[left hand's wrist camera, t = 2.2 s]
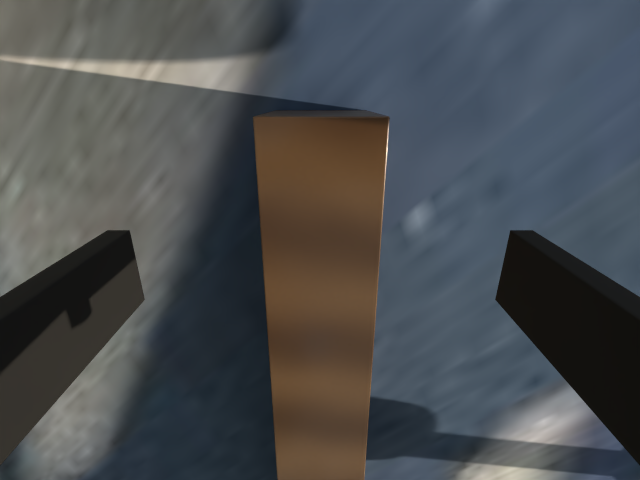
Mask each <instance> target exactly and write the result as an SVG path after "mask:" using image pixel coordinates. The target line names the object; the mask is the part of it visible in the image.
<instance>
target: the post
mask: <svg viewBox="0 0 640 480" xmlns="http://www.w3.org/2000/svg"><path fill="white" fill-rule="evenodd" d="M389 119H390V118H389V116H385V115H381V114H377V113H374V112H370V111H366V110H276V111H272V112H268V113H265V114H261V115H257V116H254V117H253V126H254V141H255V155H256V170H257V185H258V200H259V215H260V229H261V244H262V259H263V274H264V288H265V303H266V318H267V333H268V348H269V362H270V377H271V392H272V407H273V421H274V436H275V451H276V466H277V480H364V475H365V461H366V446H367V432H368V418H369V404H370V389H371V375H372V361H373V347H374V332H375V318H376V304H377V290H378V275H379V261H380V247H381V233H382V218H383V204H384V190H385V176H386V161H387V147H388V133H389Z"/></svg>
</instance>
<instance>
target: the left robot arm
mask: <svg viewBox="0 0 640 480" xmlns="http://www.w3.org/2000/svg"><path fill="white" fill-rule="evenodd" d="M144 300H145V299H144V295H143V290H142V285H141V281H140V276H139V271H138V267H137V262H136V258H135V253H134V248H133V244H132V239H131V235H130V230H107V231H106V232H104V233H103V234H101V235H99V236H98V237H96V238H95V239H93V240H91V241H90V242H88V243H86V244H85V245H83V246H82V247H80V248H78V249H77V250H75V251H74V252H72V253H70V254H69V255H67V256H66V257H64V258H62V259H61V260H59V261H58V262H56V263H54V264H53V265H51V266H49V267H48V268H46V269H45V270H43V271H41V272H40V273H38V274H37V275H35V276H33V277H32V278H30V279H29V280H27V281H25V282H24V283H22V284H21V285H19V286H17V287H16V288H14V289H13V290H11V291H9V292H8V293H6V294H4V295H3V296H1V297H0V465H1V464H2V463H3V462H4V460H5V459H6V458H7V457H8V456H9V455H10V453H11V452H12V451H13V450H14V449H15V448H16V447H17V445H18V444H19V443H20V442H21V441H22V440H23V439H24V437H25V436H26V435H27V434H28V433H29V432H30V431H31V429H32V428H33V427H34V426H35V425H36V424H37V422H38V421H39V420H40V419H41V418H42V417H43V416H44V414H45V413H46V412H47V411H48V410H49V409H50V408H51V406H52V405H53V404H54V403H55V402H56V401H57V400H58V398H59V397H60V396H61V395H62V394H63V393H64V391H65V390H66V389H67V388H68V387H69V386H70V385H71V383H72V382H73V381H74V380H75V379H76V378H77V377H78V375H79V374H80V373H81V372H82V371H83V370H84V369H85V367H86V366H87V365H88V364H89V363H90V362H91V360H92V359H93V358H94V357H95V356H96V355H97V354H98V352H99V351H100V350H101V349H102V348H103V347H104V346H105V344H106V343H107V342H108V341H109V340H110V339H111V338H112V336H113V335H114V334H115V333H116V332H117V331H118V330H119V328H120V327H121V326H122V325H123V324H124V323H125V321H126V320H127V319H128V318H129V317H130V316H131V315H132V313H133V312H134V311H135V310H136V309H137V308H138V307H139V305H140V304H141V303H142V302H143V301H144ZM495 300H496V301H497V302H498V303H499V304H500V305H501V307H502V308H503V309H504V310H505V311H506V312H507V313H508V315H509V316H510V317H511V318H512V319H513V320H514V321H515V323H516V324H517V325H518V326H519V327H520V328H521V330H522V331H523V332H524V333H525V334H526V335H527V336H528V338H529V339H530V340H531V341H532V342H533V343H534V344H535V346H536V347H537V348H538V349H539V350H540V351H541V352H542V354H543V355H544V356H545V357H546V358H547V359H548V360H549V362H550V363H551V364H552V365H553V366H554V367H555V369H556V370H557V371H558V372H559V373H560V374H561V375H562V377H563V378H564V379H565V380H566V381H567V382H568V383H569V385H570V386H571V387H572V388H573V389H574V390H575V391H576V393H577V394H578V395H579V396H580V397H581V398H582V400H583V401H584V402H585V403H586V404H587V405H588V406H589V408H590V409H591V410H592V411H593V412H594V413H595V414H596V416H597V417H598V418H599V419H600V420H601V421H602V422H603V424H604V425H605V426H606V427H607V428H608V429H609V431H610V432H611V433H612V434H613V435H614V436H615V437H616V439H617V440H618V441H619V442H620V443H621V444H622V445H623V447H624V448H625V449H626V450H627V451H628V452H629V453H630V455H631V456H632V457H633V458H634V459H635V460H636V462H637V463H638V464H639V465H640V297H639V296H637V295H636V294H634V293H632V292H631V291H629V290H627V289H626V288H624V287H623V286H621V285H619V284H618V283H616V282H615V281H613V280H611V279H610V278H608V277H607V276H605V275H603V274H602V273H600V272H599V271H597V270H595V269H594V268H592V267H590V266H589V265H587V264H586V263H584V262H582V261H581V260H579V259H578V258H576V257H574V256H573V255H571V254H570V253H568V252H566V251H565V250H563V249H562V248H560V247H558V246H557V245H555V244H554V243H552V242H550V241H549V240H547V239H545V238H544V237H542V236H541V235H539V234H537V233H536V232H534V231H533V230H510V235H509V239H508V244H507V248H506V253H505V258H504V262H503V267H502V271H501V276H500V281H499V285H498V290H497V295H496V299H495Z"/></svg>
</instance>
